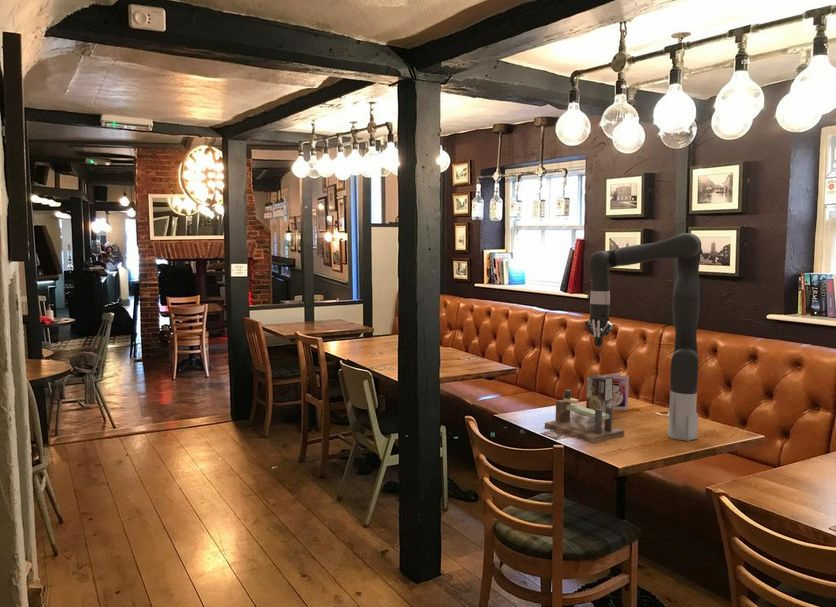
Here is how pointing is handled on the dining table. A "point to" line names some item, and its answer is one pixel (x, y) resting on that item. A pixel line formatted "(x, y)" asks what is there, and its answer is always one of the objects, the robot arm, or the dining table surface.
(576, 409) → the pale green flat bar
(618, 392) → the greeting card
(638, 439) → the dining table surface
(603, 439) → the latch base
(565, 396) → the bolt
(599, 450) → the dining table surface
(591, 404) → the coffee box
